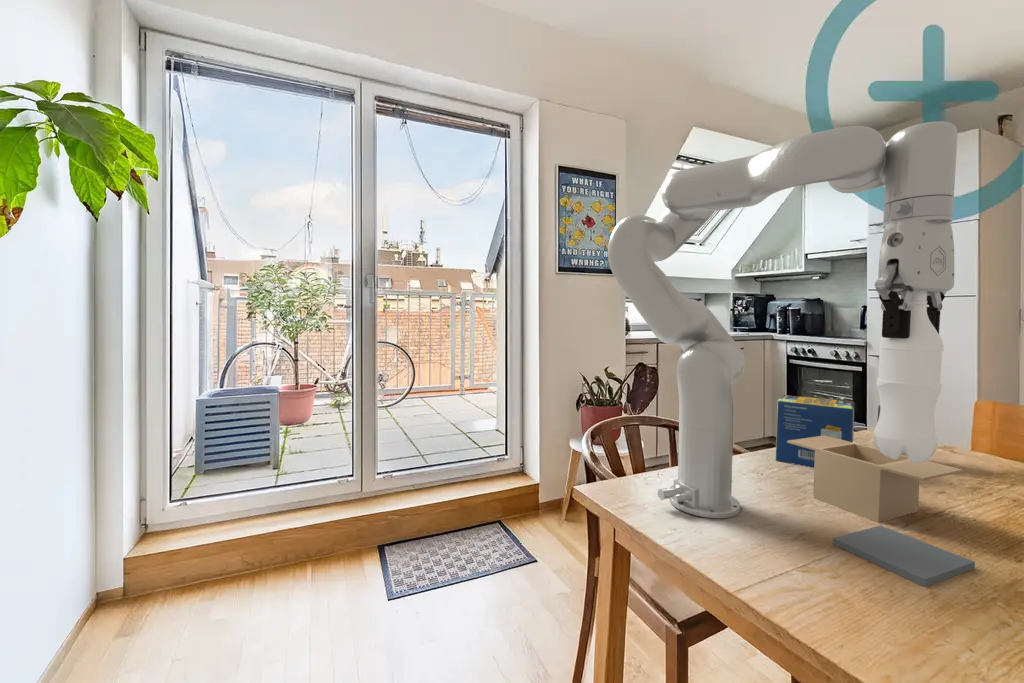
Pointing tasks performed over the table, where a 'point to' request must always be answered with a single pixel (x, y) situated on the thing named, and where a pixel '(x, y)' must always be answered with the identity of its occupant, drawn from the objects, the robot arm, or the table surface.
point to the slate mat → (904, 555)
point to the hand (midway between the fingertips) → (910, 336)
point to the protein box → (810, 425)
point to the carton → (867, 478)
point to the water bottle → (909, 387)
